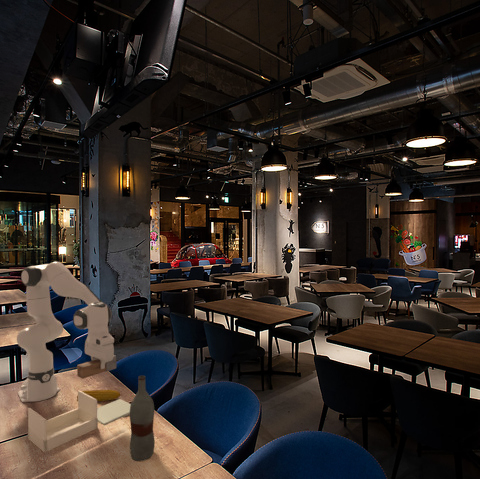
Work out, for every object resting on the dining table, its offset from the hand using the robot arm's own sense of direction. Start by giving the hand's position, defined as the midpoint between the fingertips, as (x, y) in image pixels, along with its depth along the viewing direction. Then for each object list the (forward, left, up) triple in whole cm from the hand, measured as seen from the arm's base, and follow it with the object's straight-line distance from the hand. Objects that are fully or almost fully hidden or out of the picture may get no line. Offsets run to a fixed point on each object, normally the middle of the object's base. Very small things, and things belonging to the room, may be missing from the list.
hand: (98, 366), depth 158 cm
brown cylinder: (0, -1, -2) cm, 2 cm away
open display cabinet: (0, -16, -24) cm, 29 cm away
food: (-17, +10, -25) cm, 32 cm away
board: (0, +7, -24) cm, 25 cm away
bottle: (+39, -4, -24) cm, 46 cm away
